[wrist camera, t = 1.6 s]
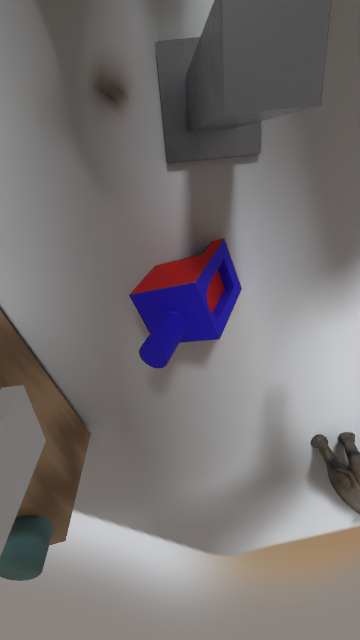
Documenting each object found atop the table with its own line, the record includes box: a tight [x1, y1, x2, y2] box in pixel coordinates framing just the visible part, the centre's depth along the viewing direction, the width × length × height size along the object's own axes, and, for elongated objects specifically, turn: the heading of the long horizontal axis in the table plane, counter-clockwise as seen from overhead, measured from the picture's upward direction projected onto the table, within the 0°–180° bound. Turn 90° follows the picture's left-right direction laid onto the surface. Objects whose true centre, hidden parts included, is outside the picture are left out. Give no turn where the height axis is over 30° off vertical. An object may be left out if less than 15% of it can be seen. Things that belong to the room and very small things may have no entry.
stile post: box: [156, 0, 331, 163], centre depth 12 cm, size 5×5×10 cm
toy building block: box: [129, 239, 242, 368], centre depth 18 cm, size 4×4×8 cm
